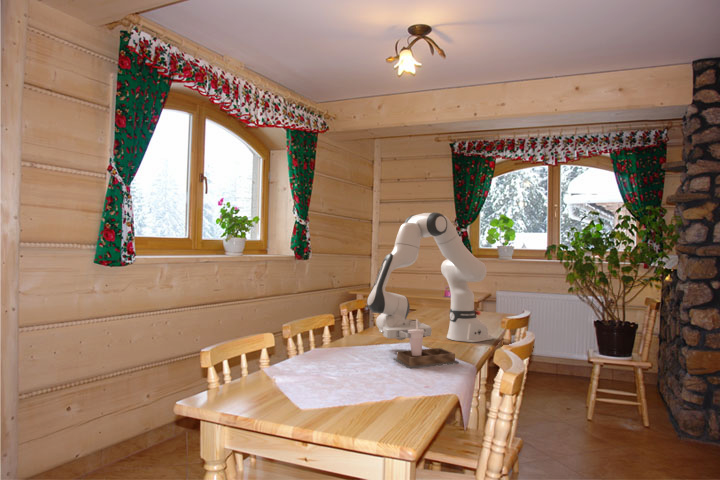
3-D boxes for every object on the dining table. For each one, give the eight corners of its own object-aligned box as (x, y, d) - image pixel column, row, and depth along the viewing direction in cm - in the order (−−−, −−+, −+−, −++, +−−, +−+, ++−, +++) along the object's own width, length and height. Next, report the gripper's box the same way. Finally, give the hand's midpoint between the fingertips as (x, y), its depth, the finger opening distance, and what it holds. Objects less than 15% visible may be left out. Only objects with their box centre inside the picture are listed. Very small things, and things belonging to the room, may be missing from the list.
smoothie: (426, 356, 182) (424, 318, 184) (409, 356, 182) (408, 319, 184) (423, 353, 189) (422, 318, 190) (407, 354, 189) (406, 318, 190)
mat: (440, 355, 199) (440, 354, 199) (458, 363, 187) (458, 361, 187) (393, 359, 190) (393, 358, 190) (409, 368, 178) (409, 367, 178)
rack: (440, 355, 197) (440, 347, 197) (454, 361, 188) (455, 353, 188) (397, 359, 189) (397, 351, 189) (410, 366, 180) (410, 358, 180)
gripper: (377, 322, 194) (393, 328, 181) (421, 319, 202) (439, 326, 190) (377, 337, 194) (392, 345, 181) (420, 334, 202) (438, 341, 190)
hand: (416, 335), depth 186 cm, fingers closed on smoothie, 6 cm apart
